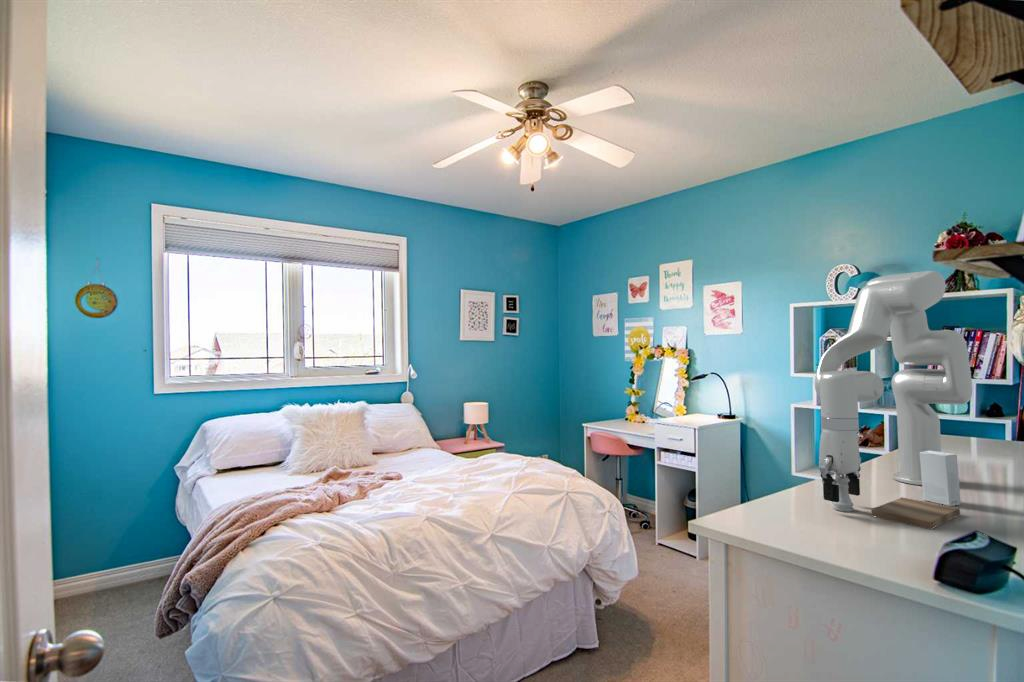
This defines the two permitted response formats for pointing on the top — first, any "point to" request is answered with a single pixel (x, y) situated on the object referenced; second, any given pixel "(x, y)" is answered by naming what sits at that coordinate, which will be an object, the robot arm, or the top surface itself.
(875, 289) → the robot arm
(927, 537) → the top surface
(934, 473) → the skincare box
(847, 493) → the rook chess piece
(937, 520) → the walnut board
